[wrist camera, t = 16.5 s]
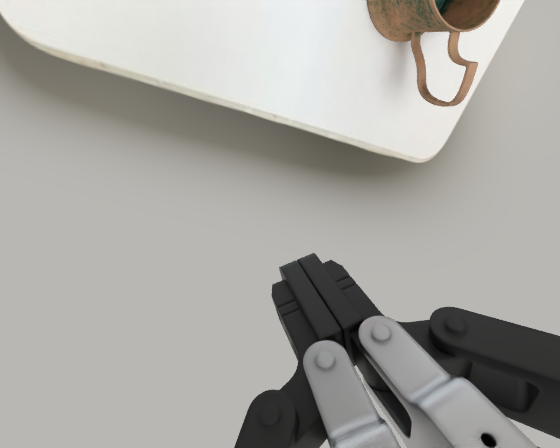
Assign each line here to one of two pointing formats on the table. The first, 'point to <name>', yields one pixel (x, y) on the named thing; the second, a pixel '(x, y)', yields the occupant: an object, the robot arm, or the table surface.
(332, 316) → the robot arm
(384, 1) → the mug
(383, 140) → the table surface
